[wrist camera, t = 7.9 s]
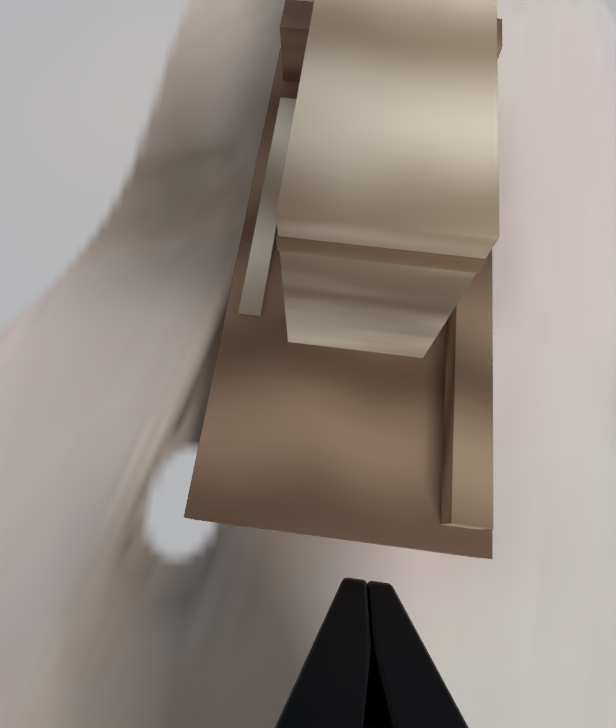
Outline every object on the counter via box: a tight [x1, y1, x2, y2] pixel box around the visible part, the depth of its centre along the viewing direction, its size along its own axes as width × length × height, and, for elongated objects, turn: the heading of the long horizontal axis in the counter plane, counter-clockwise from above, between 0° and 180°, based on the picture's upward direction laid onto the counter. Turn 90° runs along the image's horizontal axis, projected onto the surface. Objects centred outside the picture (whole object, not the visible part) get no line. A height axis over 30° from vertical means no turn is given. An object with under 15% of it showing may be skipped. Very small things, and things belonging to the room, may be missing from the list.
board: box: [184, 0, 502, 559], centre depth 23 cm, size 26×12×5 cm, turn 173°
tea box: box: [276, 0, 499, 358], centre depth 19 cm, size 13×6×9 cm, turn 173°
